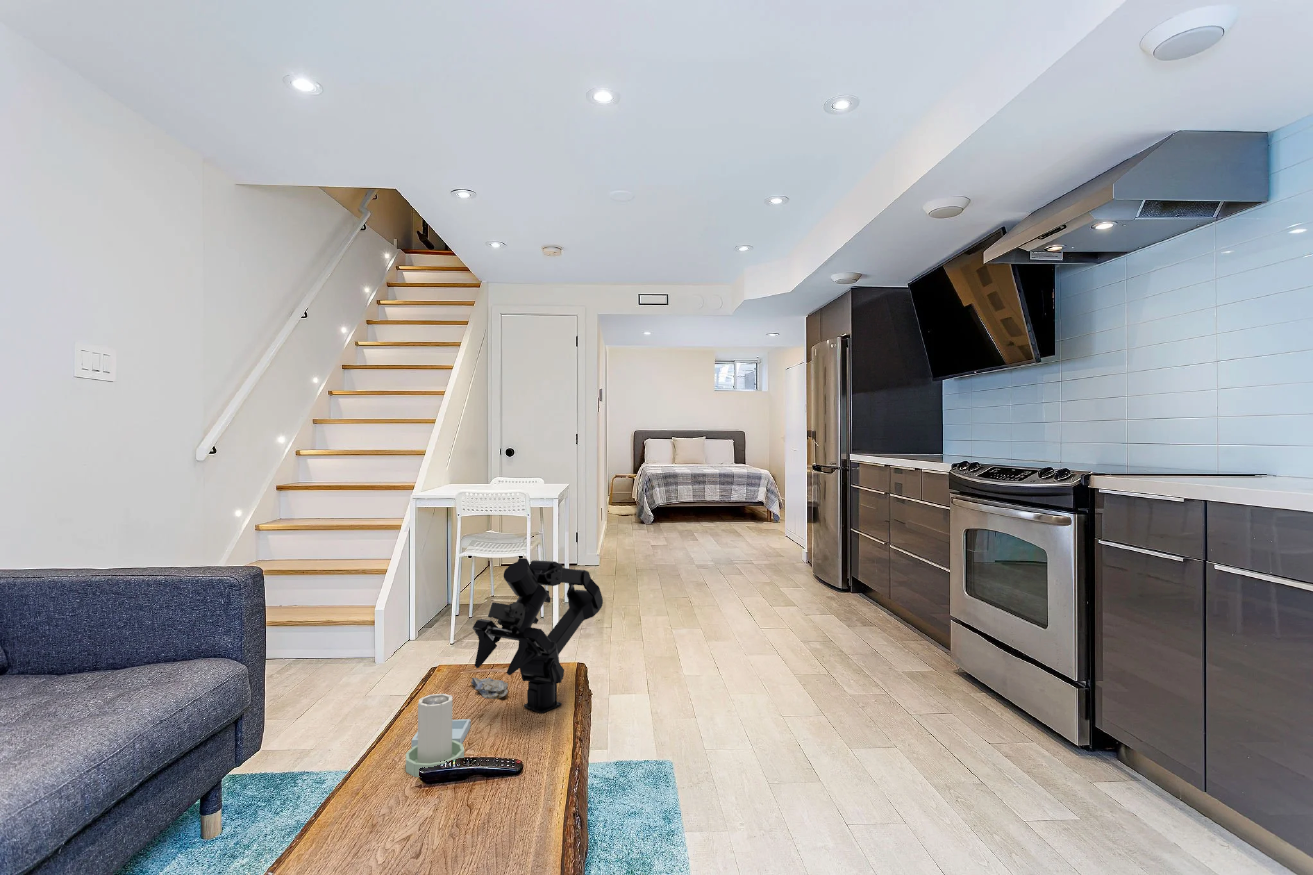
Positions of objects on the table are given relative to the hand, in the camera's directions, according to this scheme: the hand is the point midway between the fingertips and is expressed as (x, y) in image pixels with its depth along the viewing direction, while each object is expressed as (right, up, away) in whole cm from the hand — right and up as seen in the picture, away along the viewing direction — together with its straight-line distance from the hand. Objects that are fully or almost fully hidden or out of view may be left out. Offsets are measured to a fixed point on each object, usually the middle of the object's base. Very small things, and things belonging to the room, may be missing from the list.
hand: (491, 670), depth 138 cm
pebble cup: (-7, -12, -15) cm, 21 cm away
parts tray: (-10, -14, -3) cm, 17 cm away
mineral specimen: (-7, -15, +25) cm, 30 cm away
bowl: (-7, -13, -15) cm, 21 cm away
